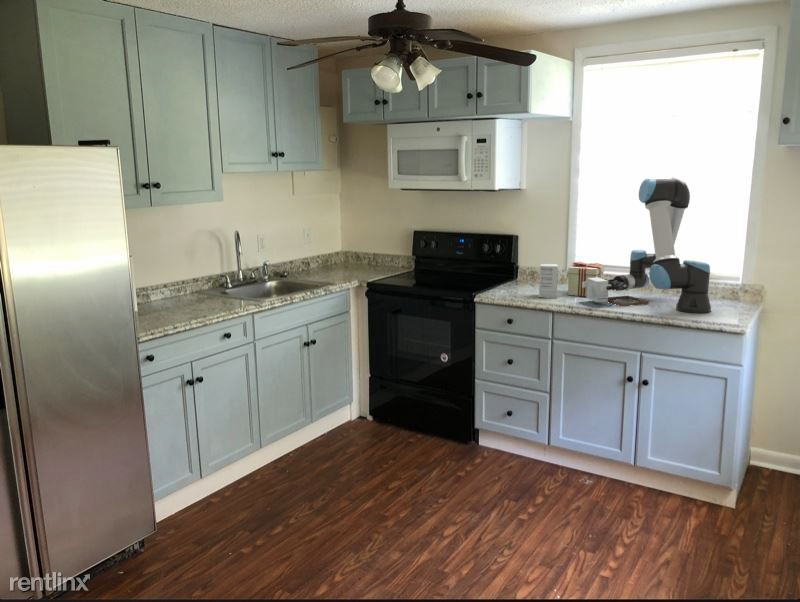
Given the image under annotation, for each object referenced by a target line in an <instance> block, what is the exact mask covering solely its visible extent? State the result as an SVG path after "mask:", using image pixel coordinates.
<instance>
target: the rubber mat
mask: <svg viewBox="0 0 800 602" xmlns="http://www.w3.org/2000/svg"><path fill="white" fill-rule="evenodd" d="M580 303H581V305H583V304H585V305H584V306H587V305H588V306H587V307H590V306H591V307H590V308H593V307H596V308H603V307H602V306H607V307H614V306H615V305H614V304H611V303H608V302H595V301H592V300H587V301H585V300H584V301H578V304H580ZM613 305H614V306H613Z"/></svg>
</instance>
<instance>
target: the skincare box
mask: <svg viewBox="0 0 800 602" xmlns="http://www.w3.org/2000/svg"><path fill="white" fill-rule="evenodd" d="M605 279H606V278H605ZM605 279H604V278H603V279H602V278H599V277H595V278H587V297H586V299H587V300H589V301H595V302H607V303H608V297H609V291H600V288H601V286H602V285H608V282H609V281H607V280H608V279H607V280H605Z"/></svg>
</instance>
